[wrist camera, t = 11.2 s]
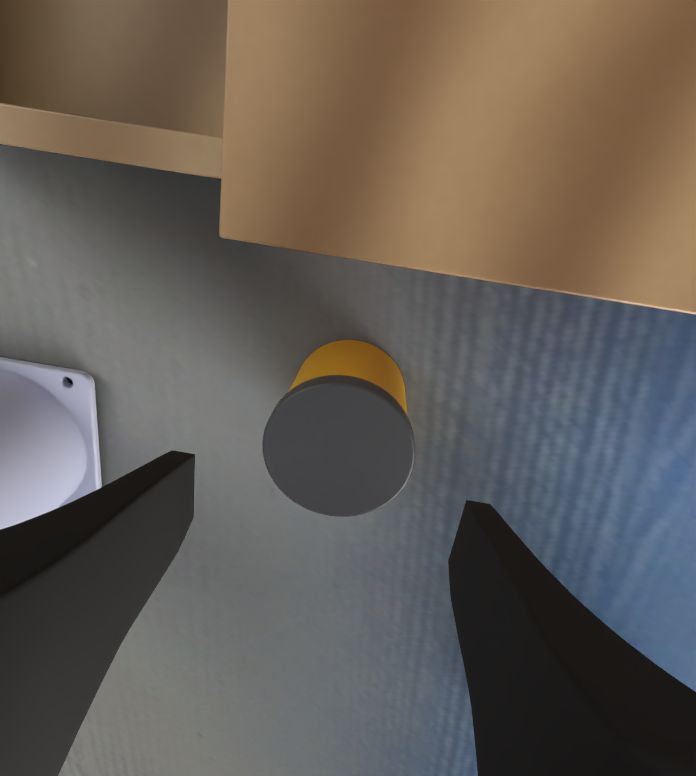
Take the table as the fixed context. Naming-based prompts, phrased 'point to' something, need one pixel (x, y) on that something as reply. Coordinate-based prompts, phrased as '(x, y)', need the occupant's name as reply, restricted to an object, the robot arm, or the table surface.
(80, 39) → the drawer
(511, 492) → the table surface
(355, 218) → the cabinet
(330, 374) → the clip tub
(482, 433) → the table surface
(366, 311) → the table surface
